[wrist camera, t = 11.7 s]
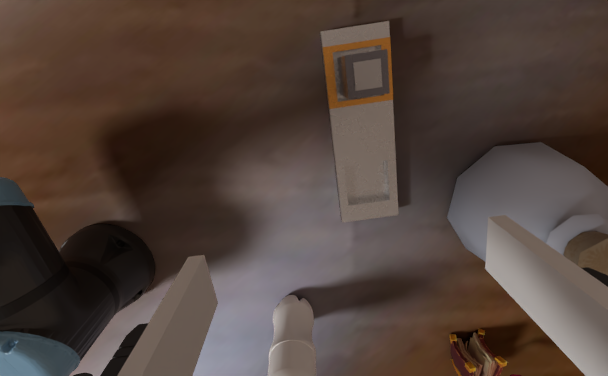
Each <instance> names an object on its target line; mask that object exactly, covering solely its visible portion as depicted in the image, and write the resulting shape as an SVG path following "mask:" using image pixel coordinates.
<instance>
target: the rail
mask: <svg viewBox="0 0 608 376" xmlns="http://www.w3.org/2000/svg"><path fill="white" fill-rule="evenodd" d="M320 41H321V50H322V59H323V67H324V76H325V85H326V93H327V102H328V111H329V120H330V128H331V137H332V146H333V155H334V163H335V172H336V181H337V190H338V198H339V207H340V216H341V220H342V222H350V221H357V220H364V219H372V218H379V217H387V216H394V215H399V214H398V193H397V173H396V152H395V132H394V111H393V83H392V62H391V42H390V29H389V21H385V22H379V23H372V24H366V25H359V26H353V27H346V28H340V29H334V30H327V31H321V32H320ZM384 49H387V52H388V71H389V90H390V93H389V94H382V95H375V96H369V97H362V98H355V99H347V98H345V97H344V96H342V95H341V92H340V82H339V72H338V63H337V58H339V57H342V56H345V55H352V54H358V53H365V52H371V51H378V50H384Z"/></svg>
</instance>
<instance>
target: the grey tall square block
mask: <svg viewBox="0 0 608 376" xmlns="http://www.w3.org/2000/svg"><path fill="white" fill-rule="evenodd" d="M337 63H338V72H339V82H340V92H341V95H342V96H344V97H345V98H347V99H355V98H362V97H369V96H375V95H382V94H389V93H390V90H389V71H388V52H387V49H384V50H378V51H371V52H365V53H358V54H352V55H345V56H342V57H339V58H337Z"/></svg>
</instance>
